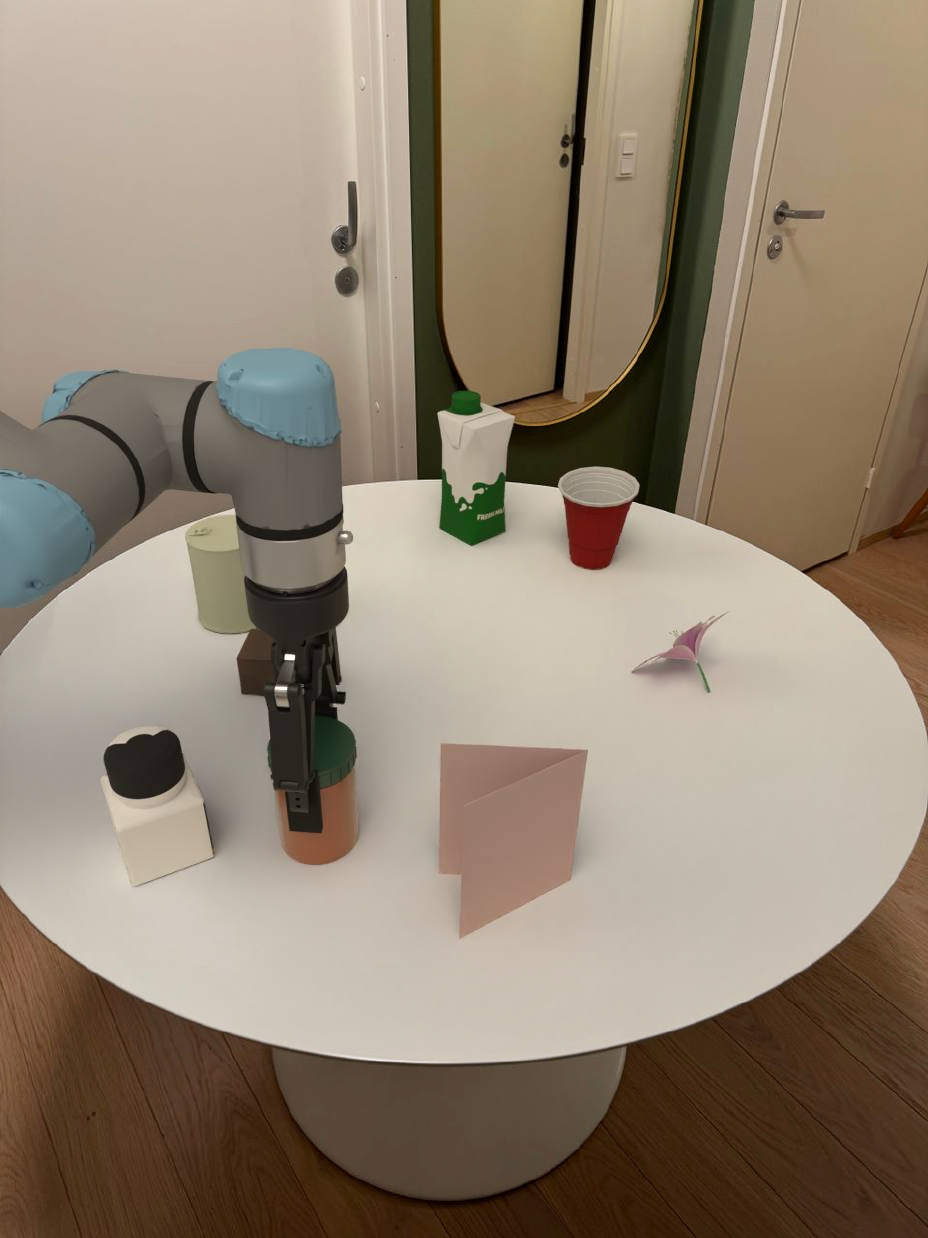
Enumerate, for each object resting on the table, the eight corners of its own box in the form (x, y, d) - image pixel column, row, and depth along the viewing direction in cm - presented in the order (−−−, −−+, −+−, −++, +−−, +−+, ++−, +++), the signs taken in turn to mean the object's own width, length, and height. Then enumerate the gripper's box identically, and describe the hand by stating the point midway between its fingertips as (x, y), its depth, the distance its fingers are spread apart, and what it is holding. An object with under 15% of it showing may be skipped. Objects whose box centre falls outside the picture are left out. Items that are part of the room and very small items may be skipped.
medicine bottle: (216, 858, 77) (196, 756, 70) (132, 889, 74) (103, 786, 67) (193, 806, 82) (173, 706, 75) (114, 833, 79) (86, 732, 72)
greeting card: (569, 871, 77) (587, 742, 68) (575, 944, 70) (595, 812, 62) (439, 865, 77) (441, 735, 69) (433, 937, 71) (435, 804, 62)
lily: (721, 657, 106) (697, 585, 104) (773, 680, 95) (747, 601, 92) (634, 698, 105) (607, 627, 103) (676, 727, 93) (647, 648, 91)
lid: (258, 787, 71) (256, 770, 70) (280, 728, 78) (279, 712, 77) (348, 793, 71) (347, 777, 70) (363, 733, 77) (362, 718, 76)
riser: (241, 694, 96) (236, 657, 93) (255, 664, 101) (250, 628, 98) (291, 698, 96) (287, 661, 93) (303, 667, 100) (299, 631, 98)
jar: (272, 862, 77) (259, 773, 71) (291, 804, 82) (281, 718, 77) (351, 868, 76) (345, 780, 70) (364, 809, 82) (360, 723, 76)
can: (200, 596, 112) (186, 512, 106) (273, 591, 114) (264, 508, 107) (195, 637, 105) (180, 549, 98) (273, 631, 106) (264, 544, 100)
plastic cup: (535, 557, 123) (541, 479, 117) (585, 534, 130) (594, 459, 123) (593, 588, 117) (603, 507, 110) (644, 562, 123) (656, 484, 116)
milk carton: (473, 511, 135) (477, 384, 124) (514, 532, 130) (523, 401, 118) (430, 528, 130) (430, 397, 119) (471, 550, 124) (476, 416, 113)
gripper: (316, 652, 55) (336, 891, 68) (368, 510, 72) (376, 723, 85) (200, 644, 56) (241, 883, 68) (279, 505, 73) (300, 718, 85)
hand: (316, 794), depth 77 cm, fingers closed on lid, 7 cm apart
